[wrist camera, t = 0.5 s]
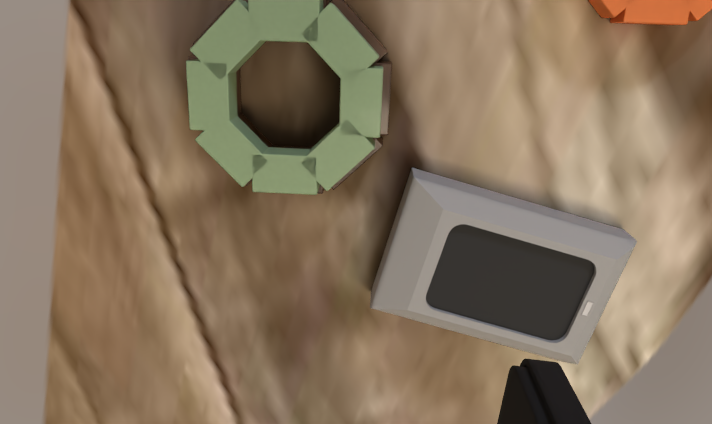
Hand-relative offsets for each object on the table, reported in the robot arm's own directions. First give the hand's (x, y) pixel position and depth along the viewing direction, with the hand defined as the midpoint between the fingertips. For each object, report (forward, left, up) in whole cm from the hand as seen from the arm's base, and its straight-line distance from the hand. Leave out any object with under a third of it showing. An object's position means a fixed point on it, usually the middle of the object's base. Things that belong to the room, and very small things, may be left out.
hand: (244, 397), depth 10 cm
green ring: (-2, -3, -26) cm, 26 cm away
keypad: (+9, +11, -28) cm, 32 cm away
